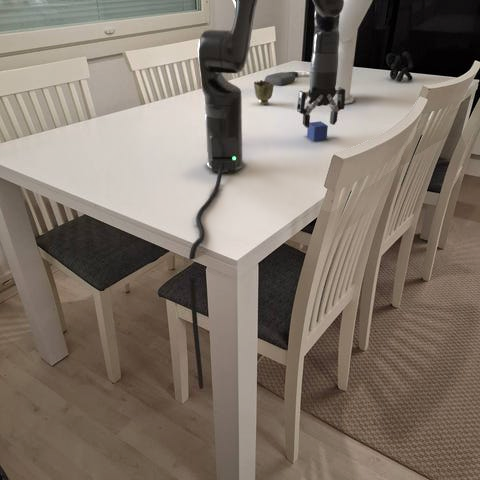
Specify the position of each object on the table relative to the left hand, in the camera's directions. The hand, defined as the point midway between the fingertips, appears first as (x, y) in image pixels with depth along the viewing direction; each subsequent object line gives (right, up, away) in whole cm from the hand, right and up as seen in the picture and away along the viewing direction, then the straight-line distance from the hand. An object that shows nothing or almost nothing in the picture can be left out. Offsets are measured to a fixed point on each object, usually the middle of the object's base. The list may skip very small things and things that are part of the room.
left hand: (319, 125), depth 134 cm
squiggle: (+48, +37, +66) cm, 90 cm away
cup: (-15, +18, +37) cm, 43 cm away
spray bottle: (-2, +39, +71) cm, 81 cm away
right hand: (-21, +55, +28) cm, 65 cm away
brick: (0, -3, +3) cm, 4 cm away
